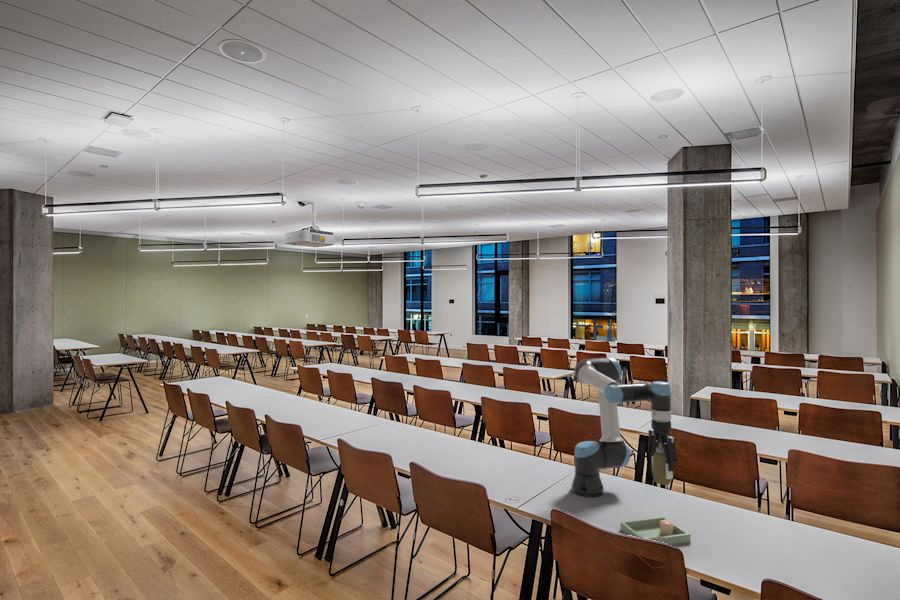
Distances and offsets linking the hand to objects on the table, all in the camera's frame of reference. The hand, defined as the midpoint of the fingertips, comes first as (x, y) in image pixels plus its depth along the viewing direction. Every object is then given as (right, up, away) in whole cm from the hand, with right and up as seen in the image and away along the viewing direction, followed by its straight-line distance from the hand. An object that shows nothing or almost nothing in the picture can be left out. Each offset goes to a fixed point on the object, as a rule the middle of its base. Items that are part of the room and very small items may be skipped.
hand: (662, 474), depth 203 cm
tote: (-7, -22, -8) cm, 24 cm away
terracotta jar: (-1, -21, -7) cm, 22 cm away
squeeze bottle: (0, -3, 0) cm, 3 cm away
